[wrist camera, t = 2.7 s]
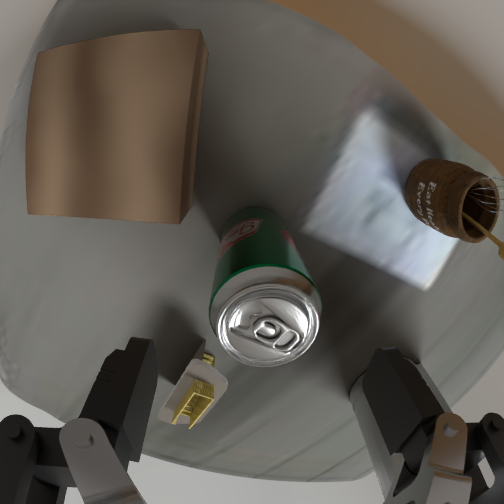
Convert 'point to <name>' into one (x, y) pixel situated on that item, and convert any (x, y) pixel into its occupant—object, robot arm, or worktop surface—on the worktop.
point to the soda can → (263, 292)
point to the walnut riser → (116, 127)
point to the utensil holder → (454, 200)
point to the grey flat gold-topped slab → (194, 391)
